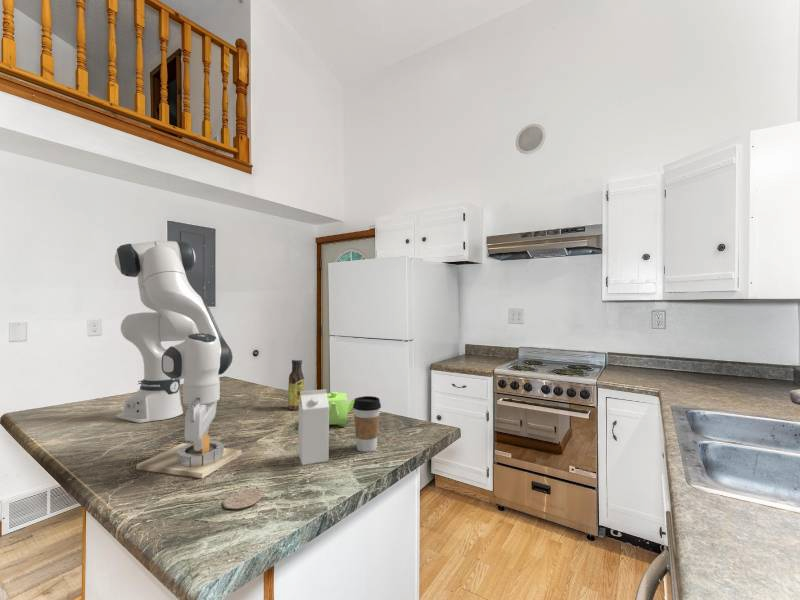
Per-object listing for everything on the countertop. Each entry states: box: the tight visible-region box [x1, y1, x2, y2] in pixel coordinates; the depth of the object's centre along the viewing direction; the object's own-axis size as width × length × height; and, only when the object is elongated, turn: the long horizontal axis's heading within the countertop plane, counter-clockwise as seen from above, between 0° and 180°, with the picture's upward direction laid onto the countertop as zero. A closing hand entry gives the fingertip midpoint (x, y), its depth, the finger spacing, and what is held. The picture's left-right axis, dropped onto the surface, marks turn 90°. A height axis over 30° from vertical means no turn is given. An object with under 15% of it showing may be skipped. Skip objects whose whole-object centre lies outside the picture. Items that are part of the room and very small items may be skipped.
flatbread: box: [222, 488, 263, 510], centre depth 82 cm, size 8×8×1 cm
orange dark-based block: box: [188, 434, 214, 454], centre depth 101 cm, size 6×6×6 cm
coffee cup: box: [352, 395, 382, 453], centre depth 112 cm, size 8×8×15 cm
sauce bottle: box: [287, 358, 305, 411], centre depth 153 cm, size 6×6×20 cm
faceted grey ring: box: [177, 440, 225, 467], centre depth 101 cm, size 11×11×3 cm
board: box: [136, 442, 242, 479], centre depth 102 cm, size 20×15×1 cm
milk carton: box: [297, 389, 330, 466], centre depth 104 cm, size 7×7×19 cm
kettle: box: [327, 391, 355, 428], centre depth 134 cm, size 15×14×11 cm
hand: (201, 445), depth 101 cm, fingers closed on orange dark-based block, 4 cm apart
